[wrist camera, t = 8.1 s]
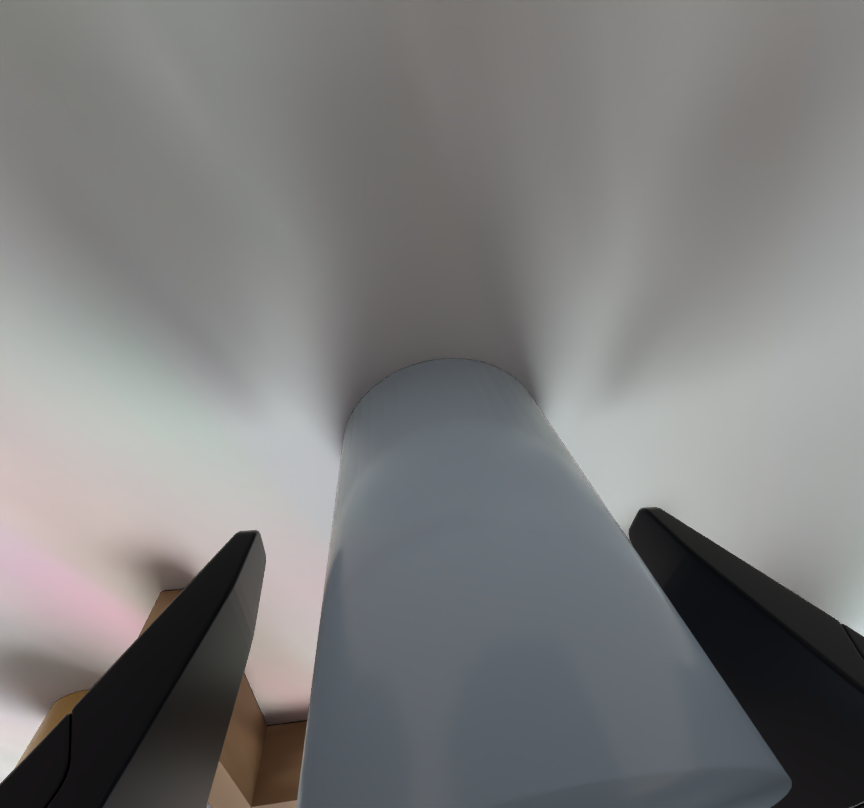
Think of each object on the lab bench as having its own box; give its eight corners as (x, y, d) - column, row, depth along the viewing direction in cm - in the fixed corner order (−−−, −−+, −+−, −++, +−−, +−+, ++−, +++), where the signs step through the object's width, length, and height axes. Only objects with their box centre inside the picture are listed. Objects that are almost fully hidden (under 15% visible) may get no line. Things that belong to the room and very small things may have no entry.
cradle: (652, 553, 16) (705, 626, 13) (568, 697, 23) (591, 761, 21) (161, 591, 13) (110, 692, 11) (242, 740, 20) (224, 821, 18)
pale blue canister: (561, 358, 10) (920, 728, 3) (507, 560, 15) (616, 888, 8) (335, 357, 9) (226, 843, 3) (352, 571, 14) (329, 947, 7)
